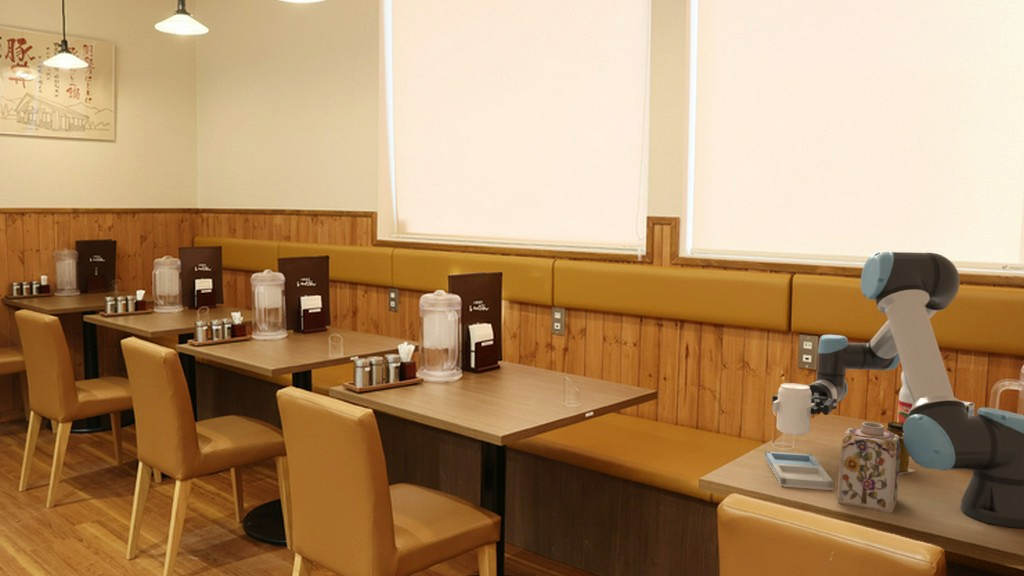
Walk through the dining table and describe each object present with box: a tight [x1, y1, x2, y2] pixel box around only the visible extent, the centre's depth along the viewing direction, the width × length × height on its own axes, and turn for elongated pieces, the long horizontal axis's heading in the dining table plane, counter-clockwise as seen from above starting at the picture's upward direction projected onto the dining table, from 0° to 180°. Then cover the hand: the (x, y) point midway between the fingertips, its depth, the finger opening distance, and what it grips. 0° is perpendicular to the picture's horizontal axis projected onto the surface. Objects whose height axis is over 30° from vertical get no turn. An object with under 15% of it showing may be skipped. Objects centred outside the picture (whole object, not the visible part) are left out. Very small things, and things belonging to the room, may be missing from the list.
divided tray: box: [764, 451, 834, 491], centre depth 209 cm, size 23×12×2 cm, turn 172°
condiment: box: [886, 421, 916, 476], centre depth 215 cm, size 7×8×12 cm
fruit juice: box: [896, 370, 913, 423], centre depth 242 cm, size 9×9×28 cm
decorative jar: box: [836, 421, 901, 514], centre depth 189 cm, size 12×12×18 cm
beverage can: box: [776, 382, 812, 436], centre depth 213 cm, size 8×8×12 cm
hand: (789, 410), depth 209 cm, fingers closed on beverage can, 7 cm apart
